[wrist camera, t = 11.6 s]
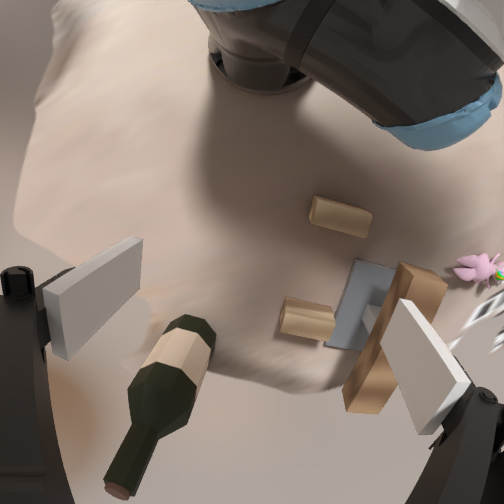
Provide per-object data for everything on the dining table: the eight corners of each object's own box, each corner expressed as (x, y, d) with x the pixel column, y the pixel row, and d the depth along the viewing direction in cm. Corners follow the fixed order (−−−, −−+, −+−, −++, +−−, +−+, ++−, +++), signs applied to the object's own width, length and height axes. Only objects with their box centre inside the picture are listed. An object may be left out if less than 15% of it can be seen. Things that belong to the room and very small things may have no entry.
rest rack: (313, 194, 38) (318, 199, 34) (362, 208, 38) (373, 215, 33) (280, 314, 44) (279, 331, 39) (324, 323, 44) (328, 341, 39)
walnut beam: (399, 261, 32) (413, 275, 28) (431, 270, 32) (448, 285, 27) (341, 390, 38) (346, 411, 34) (371, 393, 38) (378, 414, 34)
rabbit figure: (504, 251, 38) (453, 241, 37) (526, 263, 33) (478, 254, 31) (494, 284, 40) (442, 279, 39) (514, 297, 35) (465, 296, 33)
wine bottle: (226, 333, 46) (171, 506, 17) (201, 364, 48) (142, 517, 20) (182, 304, 45) (83, 460, 17) (160, 338, 48) (72, 479, 19)
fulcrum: (354, 258, 40) (369, 279, 33) (418, 275, 40) (440, 296, 33) (324, 340, 45) (330, 371, 37) (384, 351, 44) (397, 380, 37)
